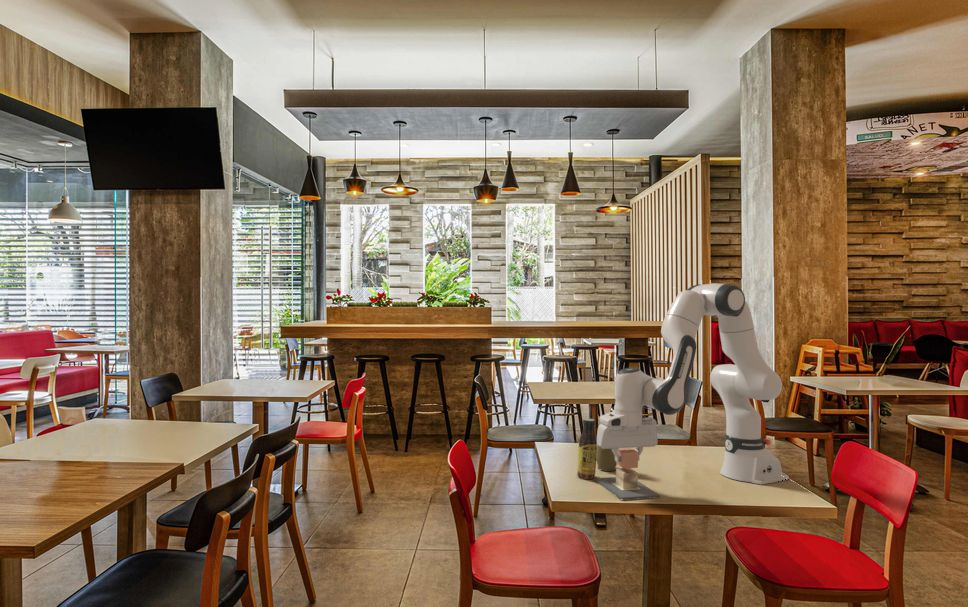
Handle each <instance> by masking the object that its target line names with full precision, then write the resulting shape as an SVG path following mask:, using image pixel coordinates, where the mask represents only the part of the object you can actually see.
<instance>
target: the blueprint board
mask: <svg viewBox="0 0 968 607" xmlns="http://www.w3.org/2000/svg"><path fill="white" fill-rule="evenodd" d="M595 481H596V482H597V483H598V484H599V483H600V484H599V485H601V486H602V487H603V488H605V489H606V490H608V492H610V493H611V492H612V493H613V494H612V493H611V494H612V495H614V494H615V495H616V496H617V497H616V496H615V495H614V496H615V497H616V498H618V497H619V498H620V499H633V500H638V499H637V498H647V499H650V498H649V497H660V494H658V492H656V491H654V490H652V488H650V487H648V486H646V485H645V484H643V483H642V482H641V481H639V480H638V484H637V488H633V489H622V488H621V487H620V486H618V485H617V484H616V476H612V477H611V476H610V477H595ZM619 498H618V499H619ZM620 499H619V500H620Z"/></svg>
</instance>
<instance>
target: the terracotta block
mask: <svg viewBox="0 0 968 607" xmlns="http://www.w3.org/2000/svg"><path fill="white" fill-rule="evenodd" d="M617 453H618V455H620V456H621V462H616V464H617V465H616V466H619V467H621V468H631V469H638V468H639V461H638V452H637V450H635V449H633V448H619V451H617Z"/></svg>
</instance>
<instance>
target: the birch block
mask: <svg viewBox="0 0 968 607" xmlns="http://www.w3.org/2000/svg"><path fill="white" fill-rule="evenodd" d="M638 475H639V473H638V472H637V471H636V470H635V469H634V468H622V467H621V468H615V477H616V484H617V485H618V486H620V487H621V488H622V489H633V488H637V484H638V481H639V480H638V478H639V476H638Z"/></svg>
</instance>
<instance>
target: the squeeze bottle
mask: <svg viewBox="0 0 968 607" xmlns="http://www.w3.org/2000/svg"><path fill="white" fill-rule="evenodd" d="M596 466H597V468H598V469H599V470H600V469H601V471H604V472H612V471H616V469H617V468H616V467H617V466H618V465H617V464H616V461H615V455H614V453H613V451H612V449H602V448H601V447H599V446H598V444H597V452H596Z"/></svg>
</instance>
